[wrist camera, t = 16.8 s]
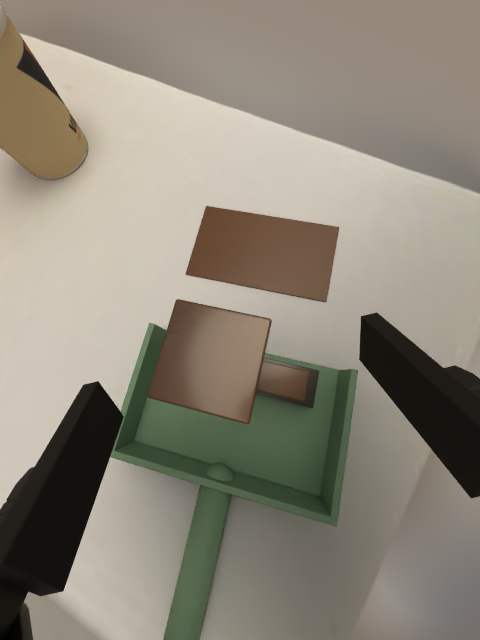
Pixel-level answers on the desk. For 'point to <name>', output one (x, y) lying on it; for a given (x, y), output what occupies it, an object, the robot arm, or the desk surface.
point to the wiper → (224, 364)
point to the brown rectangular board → (264, 252)
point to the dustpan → (236, 463)
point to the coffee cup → (34, 112)
